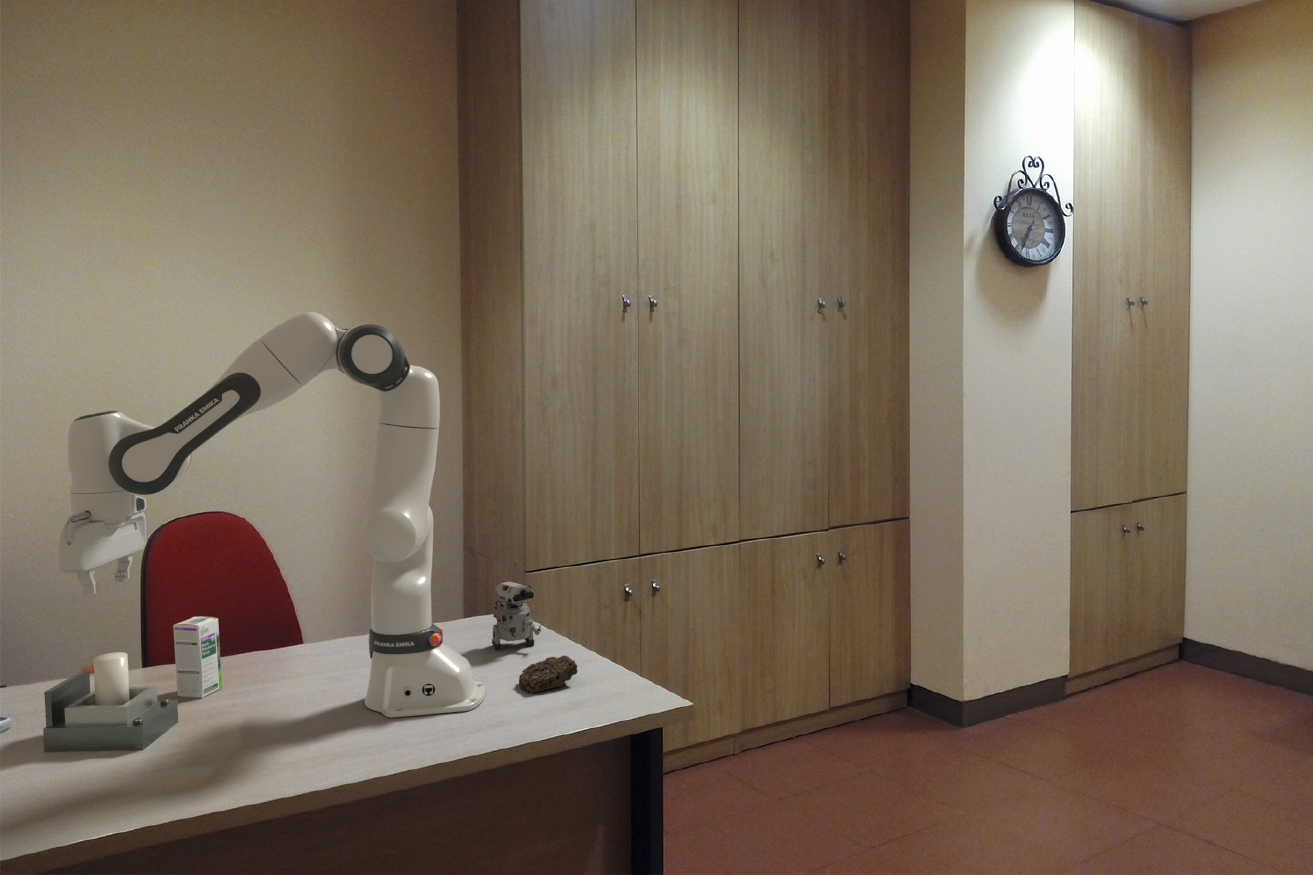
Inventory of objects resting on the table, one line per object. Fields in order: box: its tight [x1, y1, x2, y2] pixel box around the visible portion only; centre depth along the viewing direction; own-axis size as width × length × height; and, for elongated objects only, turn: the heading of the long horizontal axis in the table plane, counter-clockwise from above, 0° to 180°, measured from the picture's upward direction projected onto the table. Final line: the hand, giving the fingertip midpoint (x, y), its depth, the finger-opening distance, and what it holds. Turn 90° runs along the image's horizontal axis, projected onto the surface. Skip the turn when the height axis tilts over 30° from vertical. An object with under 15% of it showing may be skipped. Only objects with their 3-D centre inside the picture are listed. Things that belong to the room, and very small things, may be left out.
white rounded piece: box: [80, 651, 130, 705], centre depth 155 cm, size 7×5×10 cm
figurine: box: [491, 581, 542, 651], centre depth 204 cm, size 9×12×15 cm
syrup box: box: [172, 616, 223, 699], centre depth 176 cm, size 6×6×14 cm
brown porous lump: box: [518, 655, 579, 693], centre depth 181 cm, size 12×10×5 cm
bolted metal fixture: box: [42, 671, 179, 753], centre depth 155 cm, size 16×12×10 cm
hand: (107, 587), depth 153 cm, fingers open, 8 cm apart
